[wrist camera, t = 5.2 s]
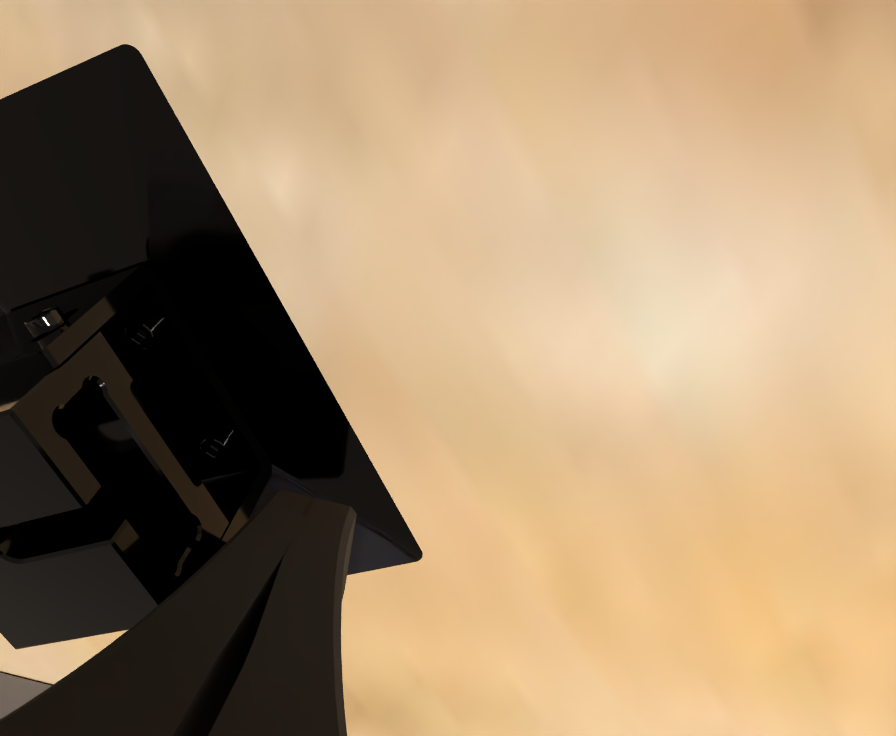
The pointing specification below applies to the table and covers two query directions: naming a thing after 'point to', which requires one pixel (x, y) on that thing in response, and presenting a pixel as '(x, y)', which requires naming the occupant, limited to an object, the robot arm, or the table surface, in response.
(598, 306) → the table surface
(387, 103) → the table surface
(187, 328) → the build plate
